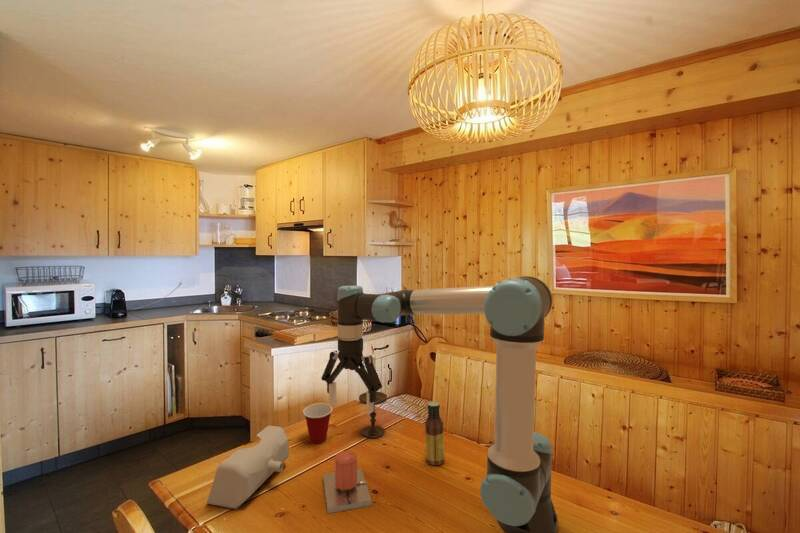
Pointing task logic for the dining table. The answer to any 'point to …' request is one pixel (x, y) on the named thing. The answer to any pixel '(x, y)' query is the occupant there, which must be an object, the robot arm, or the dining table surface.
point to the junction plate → (346, 494)
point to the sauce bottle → (434, 435)
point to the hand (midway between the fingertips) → (350, 408)
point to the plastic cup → (317, 421)
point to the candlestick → (373, 430)
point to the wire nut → (345, 470)
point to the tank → (249, 468)
